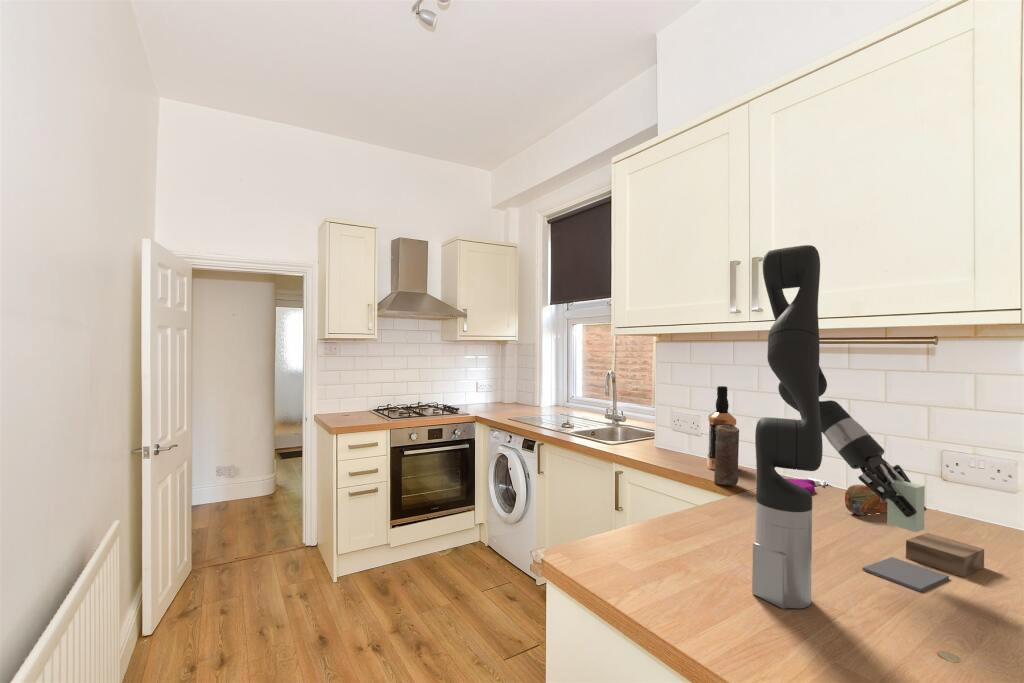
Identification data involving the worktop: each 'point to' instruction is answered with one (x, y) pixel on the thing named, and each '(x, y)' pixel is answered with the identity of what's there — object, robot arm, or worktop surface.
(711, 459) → the whiskey bottle
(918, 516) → the pale green rectangular block
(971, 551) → the brown rectangular box
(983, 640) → the worktop surface
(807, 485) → the spray bottle
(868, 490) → the tin
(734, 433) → the candle
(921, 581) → the mat
